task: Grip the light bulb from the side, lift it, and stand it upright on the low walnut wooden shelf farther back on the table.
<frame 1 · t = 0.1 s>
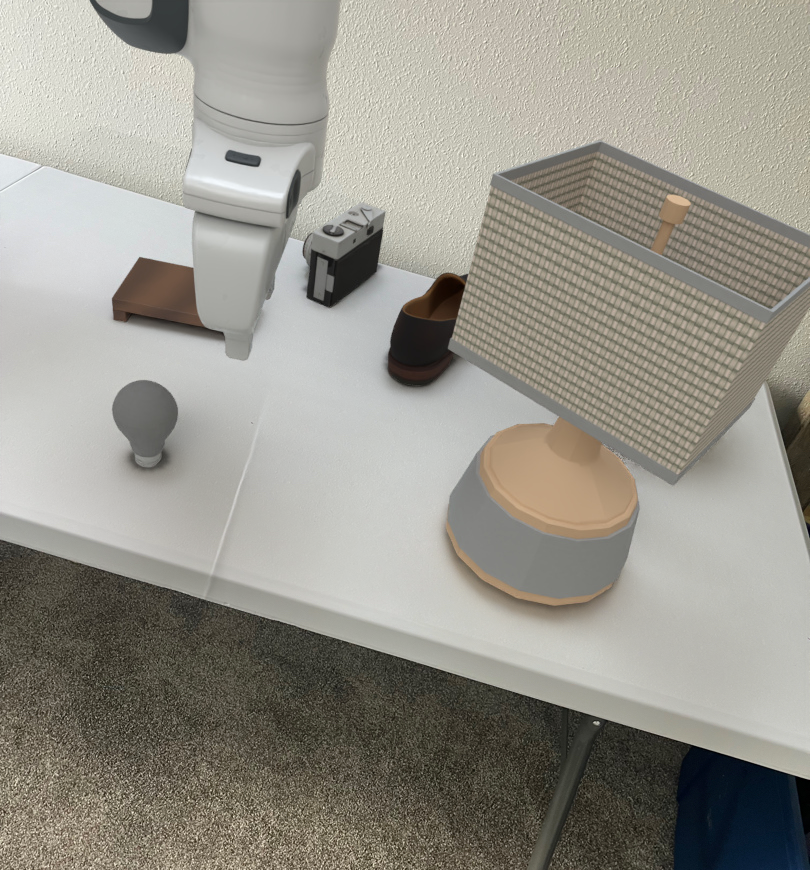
hand: (250, 323, 63), 21 cm above the table, tool pointing down, fingers open, 8 cm apart
shelf: (191, 317, 100), on the table
camera: (331, 281, 114), on the table
light bulb: (149, 468, 80), on the table
loafer: (443, 344, 107), on the table
desk lamp: (527, 548, 82), on the table
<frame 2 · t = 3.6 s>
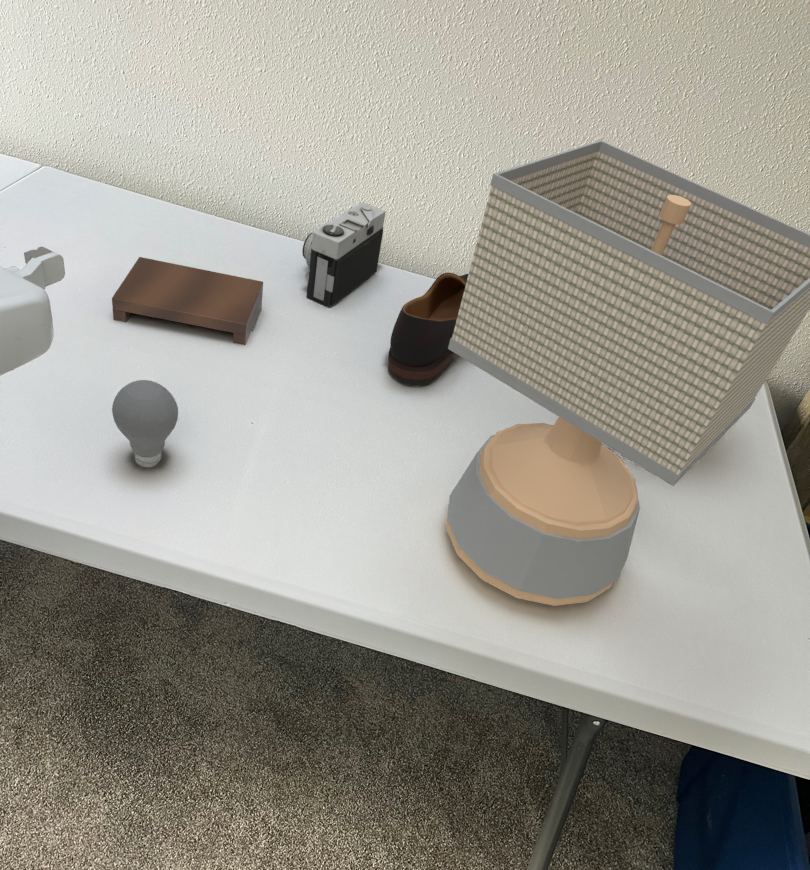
hand: (3, 234, 52), 28 cm above the table, tool horizontal, fingers open, 8 cm apart
nothing on the table moved.
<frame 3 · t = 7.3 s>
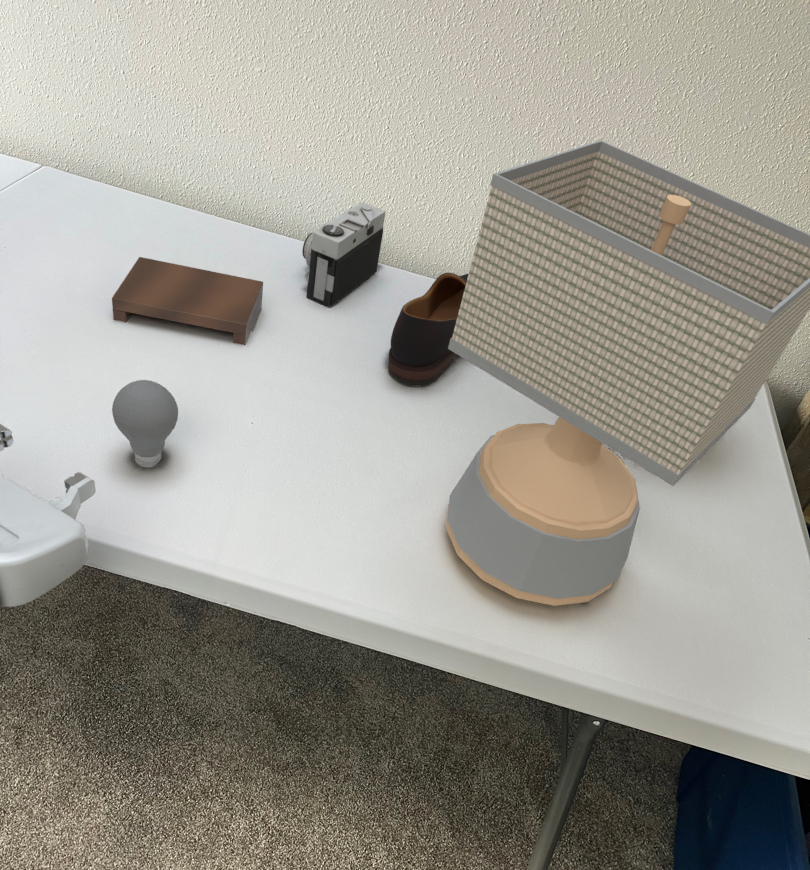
hand: (47, 456, 66), 9 cm above the table, tool horizontal, fingers open, 8 cm apart
nothing on the table moved.
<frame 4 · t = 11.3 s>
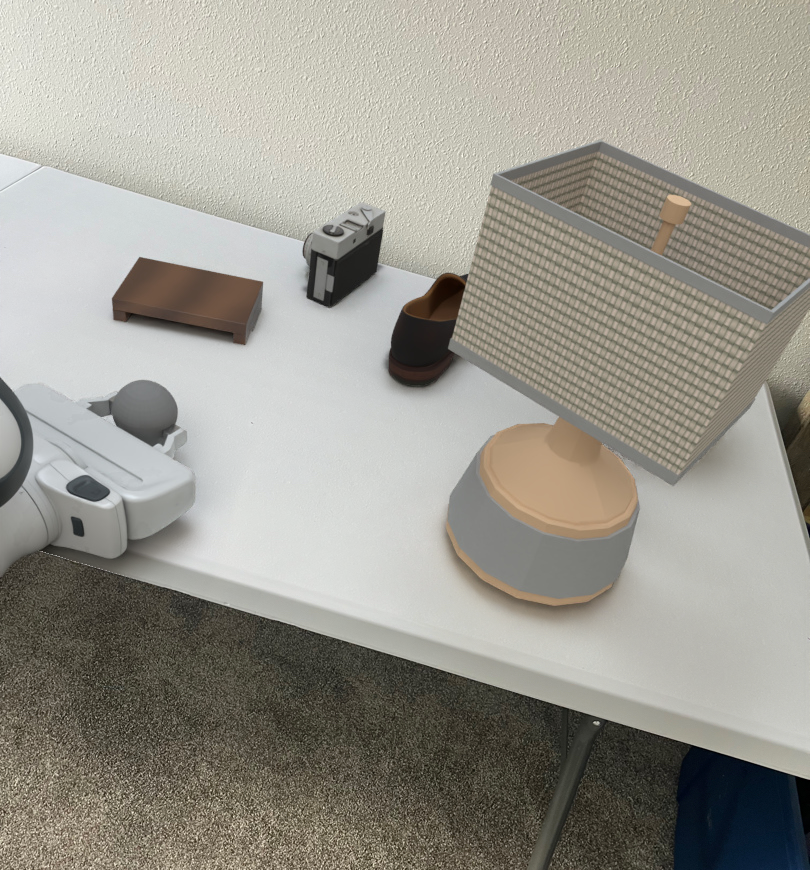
hand: (152, 416, 76), 6 cm above the table, tool horizontal, fingers closed on light bulb, 6 cm apart
light bulb: (148, 468, 80), on the table, touching gripper
everything else where it was.
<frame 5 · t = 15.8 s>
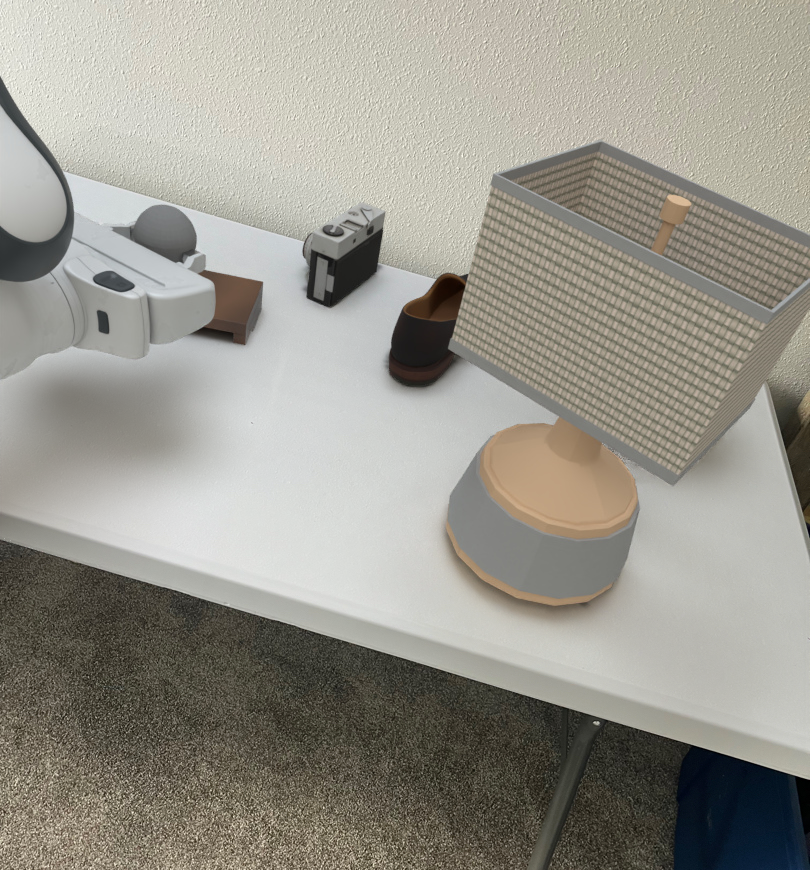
hand: (172, 244, 79), 17 cm above the table, tool horizontal, fingers closed on light bulb, 6 cm apart
light bulb: (167, 303, 82), point 11 cm above the table, touching gripper
everything else where it was.
when the fingers open (10 cm above the table, at t = 20.8 s): light bulb stays where it is, resting on shelf.
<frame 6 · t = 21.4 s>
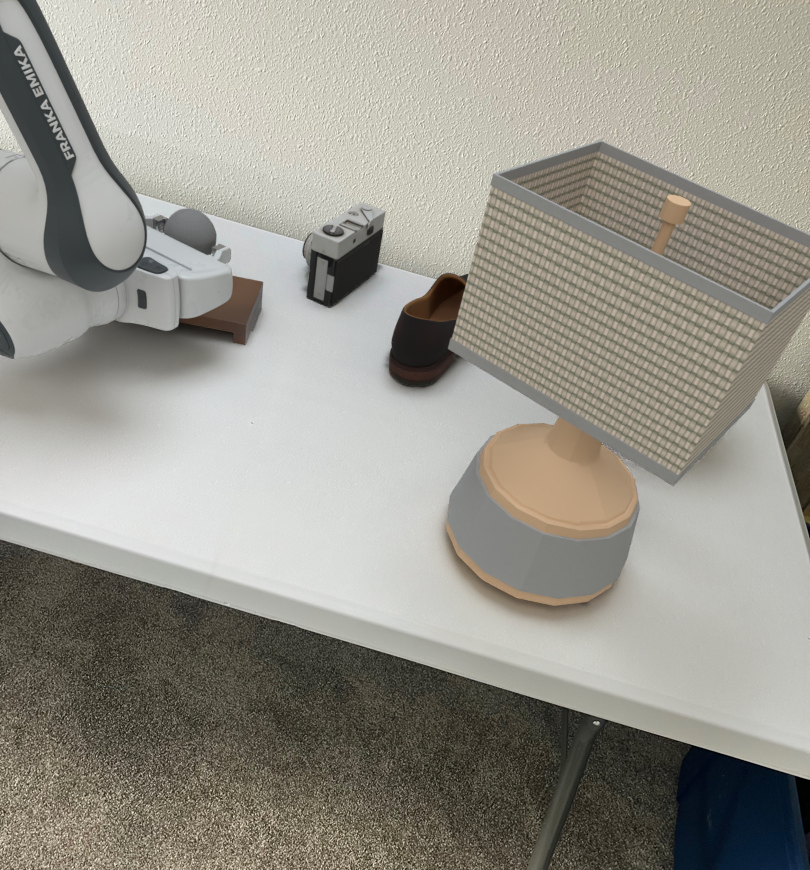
hand: (195, 236, 93), 11 cm above the table, tool horizontal, fingers open, 8 cm apart
light bulb: (191, 291, 97), point 4 cm above the table, touching shelf
everything else where it was.
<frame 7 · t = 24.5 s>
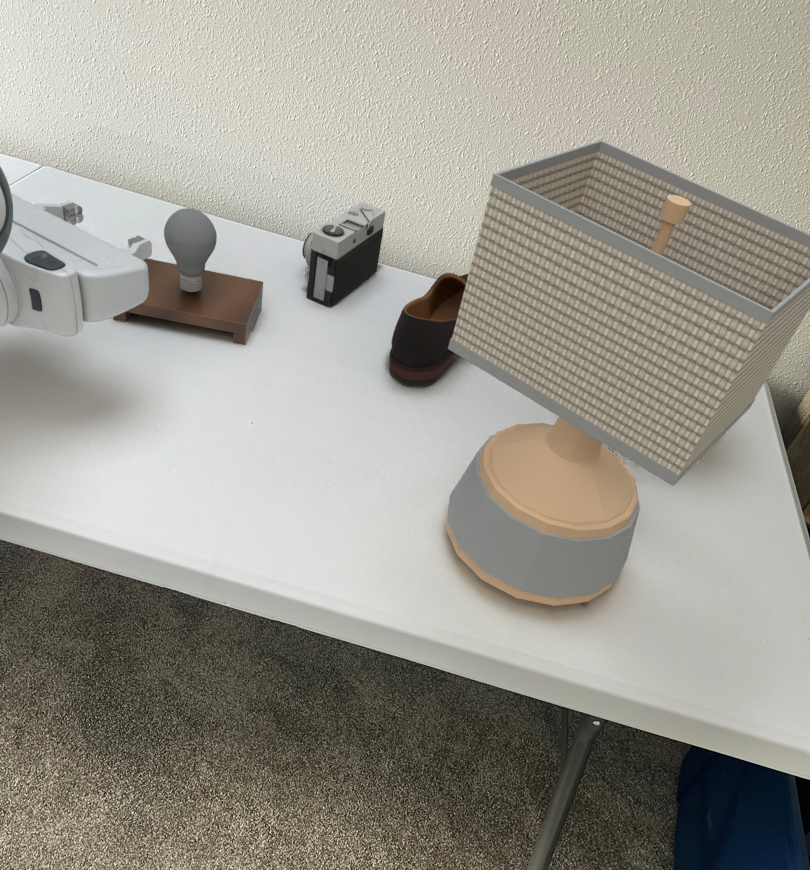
hand: (111, 227, 81), 15 cm above the table, tool horizontal, fingers open, 8 cm apart
nothing on the table moved.
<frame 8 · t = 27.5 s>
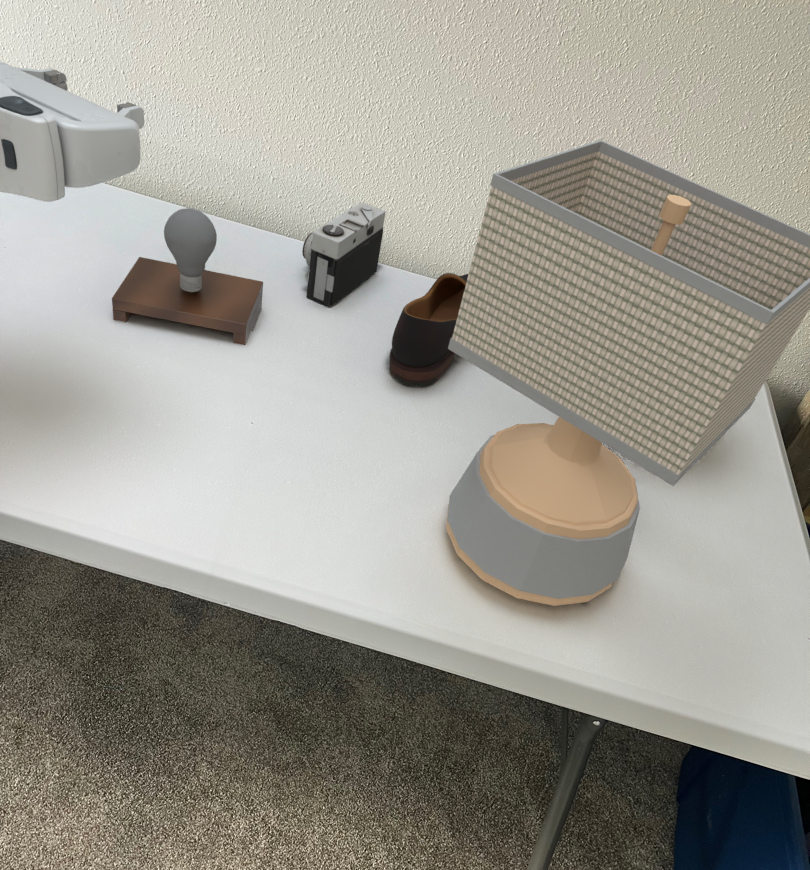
hand: (99, 97, 72), 28 cm above the table, tool horizontal, fingers open, 8 cm apart
nothing on the table moved.
at the end: light bulb inside the target area on the shelf (0.1 cm from its centre), point 3.8 cm above the shelf's base; light bulb tilted 0°; the gripper is holding nothing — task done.
